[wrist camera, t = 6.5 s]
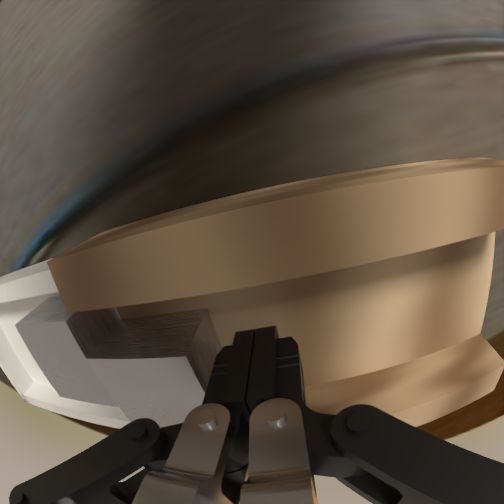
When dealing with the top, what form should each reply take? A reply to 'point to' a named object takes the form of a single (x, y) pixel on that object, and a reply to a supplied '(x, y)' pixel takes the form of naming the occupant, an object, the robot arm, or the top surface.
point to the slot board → (327, 278)
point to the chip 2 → (158, 364)
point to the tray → (20, 359)
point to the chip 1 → (68, 347)
